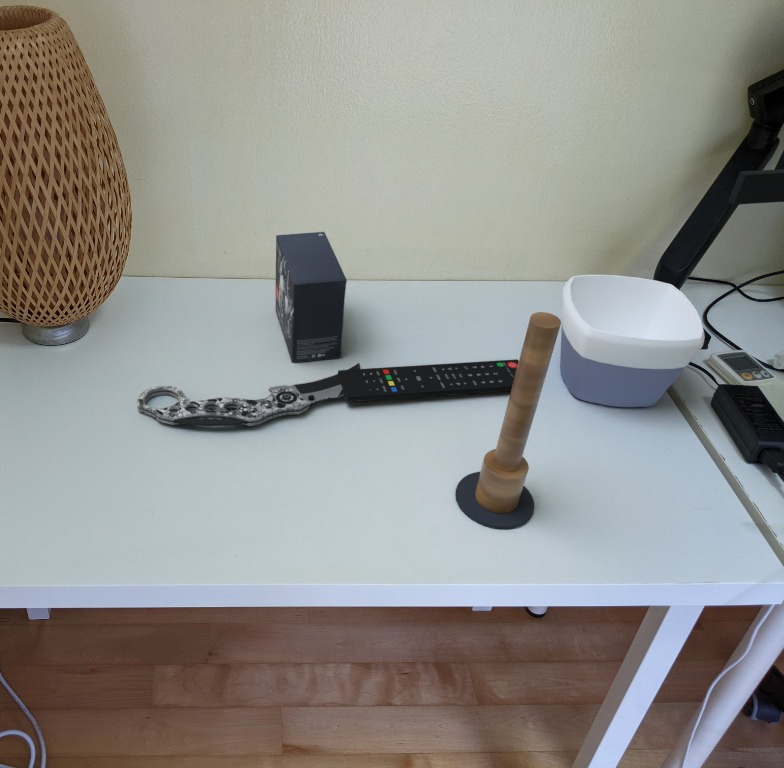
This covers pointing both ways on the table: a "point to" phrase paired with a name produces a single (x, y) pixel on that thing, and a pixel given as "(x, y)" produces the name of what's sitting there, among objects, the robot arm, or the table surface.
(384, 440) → the table surface
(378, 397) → the remote control
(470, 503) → the coaster
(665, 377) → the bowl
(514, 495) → the muddler
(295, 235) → the small box
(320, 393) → the knife
